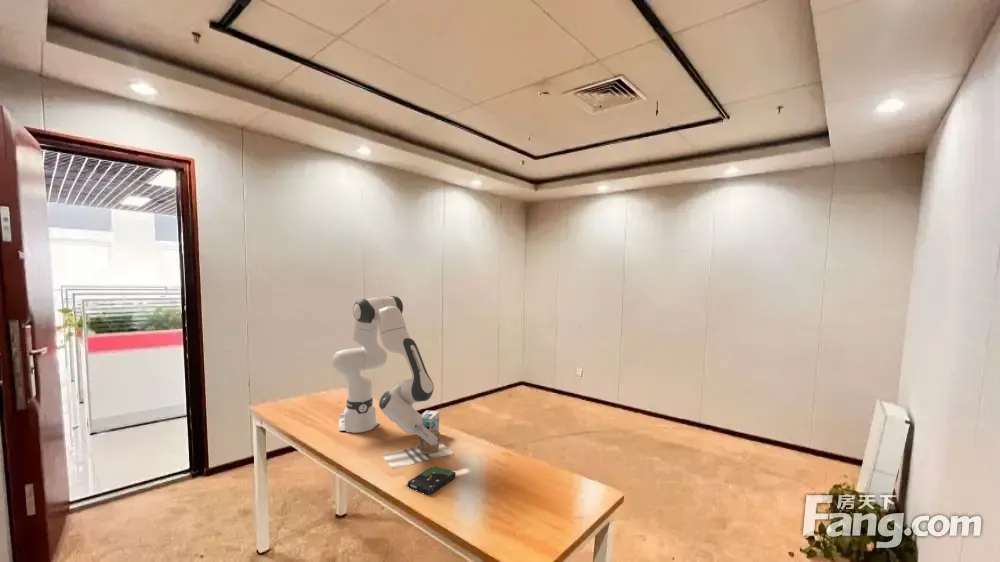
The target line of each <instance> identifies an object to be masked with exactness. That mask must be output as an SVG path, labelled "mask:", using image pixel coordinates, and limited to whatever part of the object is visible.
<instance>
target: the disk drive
mask: <svg viewBox="0 0 1000 562" xmlns="http://www.w3.org/2000/svg"><path fill="white" fill-rule="evenodd" d="M456 475H457V474H456V471H452V470H450V469H447V468H442V467H440V466H439V467H438V466H437V465H435V466H432V467H430V468H428V469H427V470H424V471H423V472H421V473H420V474H418V475H417V476H415V477H413V478H411V479H410V480H408V481H407V488H408V487H409V488H408V489H410V488H411V489H410V490H412V489H414V490H413V491H415V490H417V491H419V492H418V493H420V492H421V493H420V494H422V493H424V494H423V495H425V494H426V495H425V496H427V495H430V496H432V495H433V494H435V493H436V492H437V490H438V491H439V490H440V488H441V489H442V488H443V487H445V486H446V485H448V484H450V483H451V482H452V481H453V480H455V479H456ZM417 491H416V492H417ZM434 492H435V493H434ZM431 494H432V495H431Z"/></svg>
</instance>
